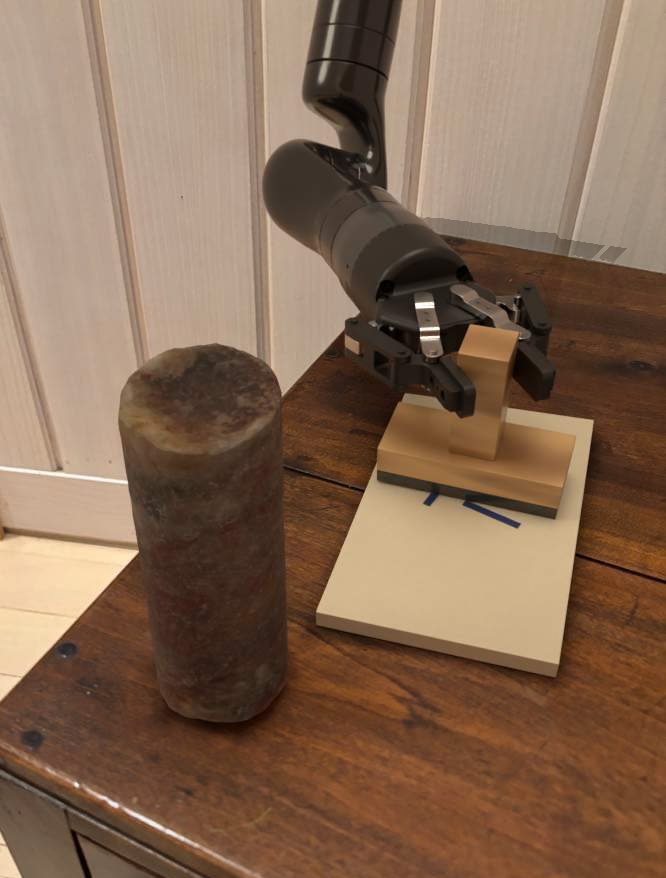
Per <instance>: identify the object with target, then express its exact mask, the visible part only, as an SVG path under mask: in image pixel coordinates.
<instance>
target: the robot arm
mask: <svg viewBox="0 0 666 878" xmlns="http://www.w3.org/2000/svg"><path fill="white" fill-rule="evenodd" d="M403 1H404V0H317V2H316V8H315V12H314V17H313V22H312V27H311V33H310V37H309V38H310V39H309V44H308V49H307V54H306V61H305V66H304V71H303V72H304V73H303V77H302V83H301V100H302V103H303V104H304V106H305V107H306V108H307V110H309V111H310V112H311V113H313V114H314V115H316V116H317V117H319V118H320V119H322V120H323V121H325V122H326V123H327V124H329V125H330V126H331V128H332V129H333V130H334V131H335V133H336V136H337V139H338V144H339V148H338V147H335V146H332V145H329V144H326V143H322V142H319V141H315V140H312V139H307V138H295V139H291V140H288V141H285V142H284V143H282V144H280V145H279V146H278V147H277V148H276V149H275V150H274V151H273V152H272V153H271V154H270V156H269V157H268V159H267V161H266V163H265V164H264V167H263V171H262V176H261V198H262V201H263V205H264V208H265V211H266V212H267V215H268V217H269V218H270V219H271V221H272V222H273V223H274V224H275V225H276V227H278V228H279V229H280V230H281V231H282V232H284V233H285V234H286V235H287V236H289V237H291V238H292V239H294V240H295V241H296V242H298V243H300V244H301V245H303V246H304V247H305V248H307V249H309V250H310V251H312V252H314V253H315V254H317V255H319V256H321V257H322V258H323V260H324V262H325V263H326V264H327V265H328V267H329V268H330V269H331V270H332V272H333V273H334V274H335V276H336V277H337V279H338V281H339V284H340V286H341V287H342V289H343V291H344V292H345V294H346V295H347V297H348V298H349V300H350V301H351V302H352V303H353V305H354V306H355V307H356V308H357V310H358V311H359V312H360V314H361V315H362V317H364V319H365V320H366V321H365V320H364V319H363V318H362V317H356V316H353V317H348V318H347V319H345V320H344V357H345V358H346V359H348V360H349V361H351V362H352V363H354V364H355V365H357V366H358V367H359V368H361V369H363V370H364V371H365V372H367V373H368V374H370V375H371V376H373V377H374V378H376V379H377V380H379V381H380V382H381V383H383V384H384V385H386V386H387V387H389V388H390V389H391V390H393V391H396V392H403V391H407V390H408V389H409V388H410V385H420V387H421V389H423V390H425V391H428V392H431V394H432V395H433V397H436V399H438V401H439V402H440V403H441V405H442V406H443V408H444V409H446V410H448V411H449V412H455V413H456V414H457V415H458V417H459V418H460V419H462V418H467V417H471V416H473V415H474V409H475V401H476V388H475V385H474V384H473V383H472V381H471V380H470V379H469V378H468V377H467V376H466V374H465V373H464V372H463V371H462V370H461V369H460V367H459V366H458V365H457V362H456V361H455V360H454V359H453V358H452V357H451V356H450V355H451V354H453V353H456V352H457V353H458V352H459V350H460V347H461V345H462V342H463V340H464V337H465V335H466V333H467V330H468V328H469V325H470V324H473V325H479V326H485V327H491V328H497V329H504V330H510V331H516V332H519V339H518V346H517V352H516V359H515V365H514V371H513V378H512V380H514V381H515V382H516V383H517V384H518V385H519V387H520V388H522V390H524V392H525V393H526V394H527V395H528V396H529V397H530V398H531V399H532V401H534V402H535V403H540V402H544V401H548V400H549V399H550V398H551V393H552V391H553V390H554V383H555V379H556V373H557V369H556V365H555V364H554V363H553V362H552V361H550V359H549V358H548V346H549V341H550V335H551V332H552V328H553V321H552V320H551V317H550V315H549V313H548V311H547V308H546V306H545V303H544V301H543V299H542V297H541V294H540V292H539V290H538V287H537V286H536V285H534V284H532V283H522V284H519V285H518V287H517V292H516V294H513V295H512V294H511V295H496V294H495V292H494V291H493V290H492V289H490V288H488V287H486V286H483V285H480V284H478V283H476V280H475V279H474V276H473V275H472V272H471V270H470V268H469V265H468V264H467V262H466V261H465V260H464V258H463V257H462V256H461V255H460V254H459V253H458V252H457V251H456V250H455V249H454V248H453V247H452V246H450V245H449V244H448V243H447V242H446V241H445V240H444V239H443V238H442V236H440V235H439V234H438V233H437V232H436V231H435V230H434V229H433V228H432V227H430V225H429V224H427V223H426V222H425V221H424V220H423V219H422V218H421V217H420V216H418V215H417V214H416V213H414V212H412V211H410V210H409V209H406V208H405V206H403V205H402V204H401V202H399V201H398V200H397V199H396V198H395V197H394V196H393V195H392V194H391V193H390V192H388V190H389V189H388V186H389V185H388V183H389V182H388V181H389V179H388V177H389V176H388V175H389V173H388V158H387V139H386V95H387V90H388V85H389V80H390V75H391V70H392V64H393V59H394V54H395V49H396V44H397V39H398V33H399V29H400V23H401V17H402V9H403V4H404V3H403ZM448 355H449V356H448Z"/></svg>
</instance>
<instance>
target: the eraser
mask: <svg viewBox="0 0 666 878" xmlns="http://www.w3.org/2000/svg"><path fill="white" fill-rule="evenodd" d="M518 339H519V332H516V331H510V330H504V329H497V328H491V327H485V326H479V325H473V324H470V325H469V328H468V330H467V333H466V335H465V337H464V340H463V342H462V345H461V347H460V350H459V351H458V352H457V360H456V364H457V365H458V366H459V367H460V369H461V370H462V371H463V372H464V373H465V374H466V376H467V377H468V378H469V379H470V380H471V381H472V383H473V384H474V385H475V388H476V401H475V409H474V415H473V416H471V417H467V418H462V419H460V418H459V417H458V415H457V414H456V413H455V412H449V411H446V410H440V409H435V408H430V407H425V406H420V405H414V404H409V403H404V402H402V401H398V402H397V404H396V406H395V409H394V411H393V414H392V415H391V418H390V420H389V422H388V424H387V426H386V429H385V431H384V434H383V435H382V438H381V439H380V442H379V443H378V446H377V449H376V451H377V452H376V463H377V481H382V482H386V483H391V484H396V485H400V486H405V487H409V488H414V489H418V490H423V491H427V492H432V493H436V494H441V495H446V496H450V497H455V498H459V499H464V500H468V501H473V502H477V503H482V504H486V505H491V506H496V507H500V508H505V509H509V510H514V511H518V512H523V513H527V514H532V515H536V516H541V517H546V518H550V519H556V516H557V512H558V508H559V504H560V500H561V497H562V493H563V489H564V485H565V481H566V478H567V474H568V470H569V466H570V462H571V457H572V453H573V449H574V445H575V440H576V435H571V434H566V433H560V432H555V431H550V430H545V429H540V428H534V427H529V426H524V425H519V424H514V423H508V422H506V416H507V410H508V408H509V402H510V397H511V391H512V383H513V371H514V365H515V359H516V352H517V346H518Z"/></svg>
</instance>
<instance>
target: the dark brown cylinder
mask: <svg viewBox="0 0 666 878" xmlns="http://www.w3.org/2000/svg"><path fill="white" fill-rule="evenodd" d="M119 395H120V396H119V407H118V413H117V415H118V417H117V425H118V431H119V436H120V442H121V448H122V453H123V454H122V456H123V461H124V468H125V469H124V470H125V473H126V481H127V487H128V494H129V498H130V505H131V512H132V514H131V515H132V520H133V524H134V525H133V526H134V531H135V537H136V542H137V543H136V544H137V550H138V555H139V562H140V569H141V575H142V581H143V588H144V595H145V602H146V603H145V604H146V609H147V616H148V622H149V623H148V624H149V631H150V638H151V645H152V652H153V657H154V665H155V671H156V677H157V683H158V688H159V692H160V695H161V698H162V699H163V700H164V701H165V703H166V705H167V706H168V708H170V709H171V710H172V711H173V712H175V713H178V714H179V715H180V716H182V717H185V718H188V719H193V720H195V719H196V720H203V721H207V722H214V723H227V724H228V723H229V724H230V723H240V722H245V721H248V720H251V719H252V718H253V717H255V716H258V715H260V714H261V713H263V712H264V711H265V710H267V709H268V707H269V706H270V705H271V703H273V702H274V700H275V699H276V697H278V695H279V694H280V693H281V691H282V690H283V688H284V686H285V685H286V682H287V678H288V674H289V667H288V666H289V663H288V661H289V659H288V656H289V654H288V653H289V649H288V648H289V647H288V646H289V645H288V643H289V642H288V640H289V639H288V636H289V634H288V632H289V631H288V607H287V606H288V604H287V603H288V602H287V568H286V567H287V566H286V542H285V541H286V540H285V539H286V538H285V518H284V517H285V515H284V514H285V506H284V504H285V503H284V502H285V501H284V497H285V495H284V494H285V493H284V492H285V490H284V489H285V480H284V445H283V444H284V443H283V429H284V427H283V423H284V422H283V392H282V390H281V386H280V383H279V380H278V377H277V374H276V373H275V371H274V370H273V369H272V368H271V366H270V365H269V364H268V363H267V362H266V361H264V360H263V359H262V358H259V357H257V356H254V355H253V354H251V353H249V352H247V351H245V350H242V349H238V348H236V347H234V346H230V345H225V344H221V343H218V342H214V343H209V344H197V345H193V346H186V347H173V348H171V349H167V350H164V351H163V352H161V353H159V354H157V355H155V356H154V357H151V358H149V359H148V360H147V361H146V362H144V363H142V365H141V366H140V367H139V369H136V370H134V372H133V373H131V374H130V376H128V378H127V380H126V382H125V384H124V386H123V388H122V389H121V392H120V394H119Z"/></svg>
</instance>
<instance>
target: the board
mask: <svg viewBox="0 0 666 878" xmlns="http://www.w3.org/2000/svg"><path fill="white" fill-rule="evenodd" d="M401 402H404V403H409V404H414V405H420V406H425V407H430V408H435V409H440V410H446V409H444V408H443V406H442V405H441V403H440V402H439V401H438V399H436V397H435V396H429V395H421V394H414V393H407V392H405V393H404V394H403V397H402V399H401ZM446 411H448V410H446ZM506 422H508V423H514V424H519V425H524V426H529V427H534V428H540V429H545V430H550V431H555V432H560V433H566V434H571V435H576V440H575V445H574V449H573V453H572V457H571V462H570V466H569V470H568V474H567V478H566V481H565V485H564V489H563V493H562V497H561V500H560V504H559V508H558V512H557V516H556V519H550V518H546V517H541V516H536V515H532V514H527V513H523V512H518V511H514V510H509V509H505V508H500V507H496V506H491V505H486V504H482V503H477V502H473V501H468V500H464V499H459V498H455V497H450V496H446V495H441V494H436V493H432V492H427V491H423V490H418V489H414V488H409V487H405V486H400V485H396V484H391V483H386V482H382V481H377V462H376V463H375V465H374V468H373V470H372V472H371V475H370V478H369V480H368V483H367V484H366V485H367V486H366V488H365V490H364V493H363V495H362V498H361V500H360V503H359V505H358V507H357V510H356V512H355V515H354V517H353V520H352V522H351V525H350V527H349V529H348V532H347V535H346V537H345V539H344V542H343V544H342V547H341V549H340V551H339V555H338V556H337V559H336V561H335V563H334V566H333V569H332V571H331V573H330V576H329V579H328V581H327V584H326V586H325V589H324V591H323V594H322V595H321V598H320V601H319V603H318V606H317V608H316V611H315V625H316V626H318V627H323V628H328V629H333V630H337V631H341V632H347V633H351V634H355V635H359V636H365V637H368V638H372V639H373V638H374V639H378V640H383V641H387V642H392V643H397V644H400V645H405V646H410V647H414V648H419V649H423V650H428V651H433V652H437V653H441V654H446V655H450V656H456V657H460V658H465V659H468V660H473V661H478V662H483V663H488V664H492V665H497V666H500V667H505V668H510V669H514V670H519V671H524V672H528V673H532V674H537V675H542V676H546V677H551V678H556V677H557V674H558V670H559V666H560V662H561V661H560V660H561V654H562V647H563V640H564V632H565V625H566V619H567V611H568V605H569V598H570V591H571V583H572V578H573V569H574V563H575V556H576V550H577V549H576V548H577V541H578V536H579V535H578V534H579V529H580V521H581V513H582V507H583V501H584V493H585V488H586V487H585V485H586V481H587V480H586V479H587V472H588V467H589V466H588V465H589V459H590V452H591V451H590V450H591V443H592V437H593V430H594V422H595V420H594V419H588V418H581V417H576V416H575V417H574V416H569V415H560V414H553V413H548V412H547V413H546V412H539V411H532V410H527V409H519V408H512V407H508V410H507V416H506Z"/></svg>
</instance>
